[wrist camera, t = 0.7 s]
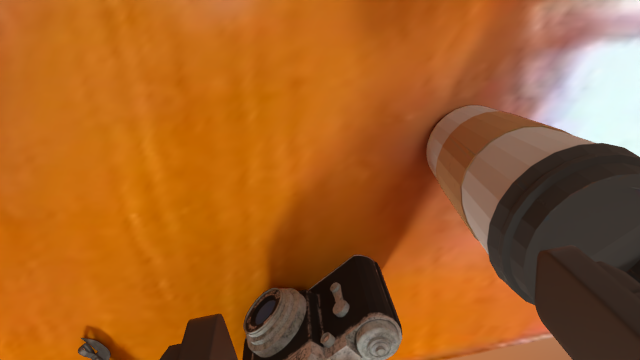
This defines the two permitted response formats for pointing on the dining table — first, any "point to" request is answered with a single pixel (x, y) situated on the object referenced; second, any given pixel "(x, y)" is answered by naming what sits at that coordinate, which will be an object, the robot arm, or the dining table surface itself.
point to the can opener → (101, 356)
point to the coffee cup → (537, 192)
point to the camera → (326, 318)
